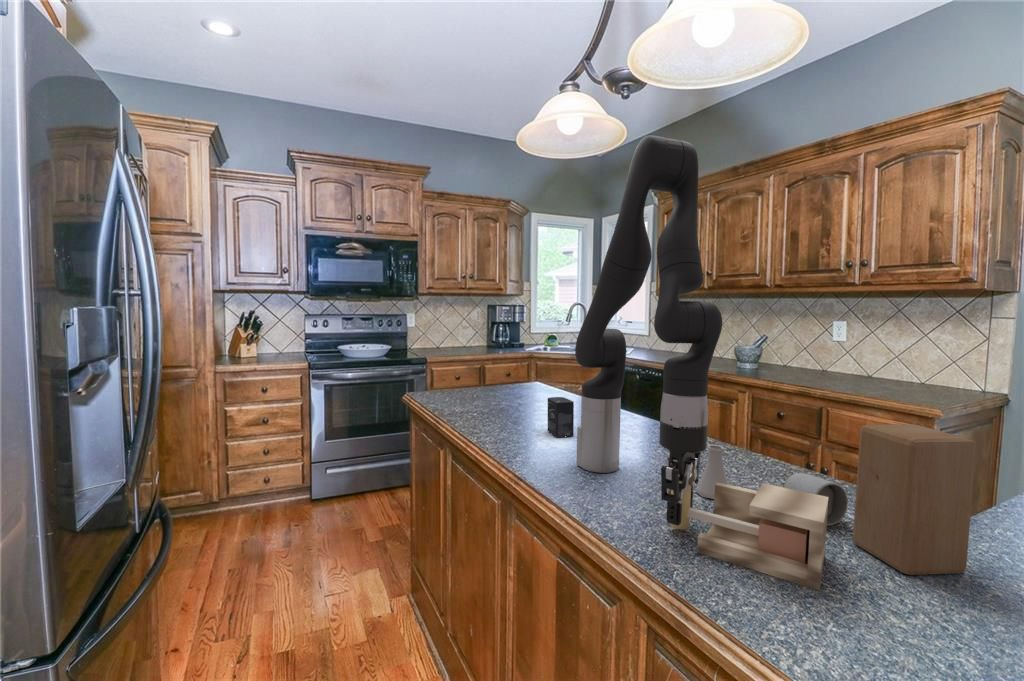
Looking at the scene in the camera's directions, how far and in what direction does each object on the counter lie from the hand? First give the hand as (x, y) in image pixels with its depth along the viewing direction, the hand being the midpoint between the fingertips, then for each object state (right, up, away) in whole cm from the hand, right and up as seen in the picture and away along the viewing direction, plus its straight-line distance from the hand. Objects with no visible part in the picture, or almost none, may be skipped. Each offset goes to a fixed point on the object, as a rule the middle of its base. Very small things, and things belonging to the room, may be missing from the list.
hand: (679, 516), depth 80 cm
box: (-14, +2, +61) cm, 63 cm away
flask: (+13, -2, +17) cm, 21 cm away
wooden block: (+32, -4, -8) cm, 33 cm away
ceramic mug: (+26, -3, +6) cm, 27 cm away
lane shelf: (+10, -3, -7) cm, 13 cm away
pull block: (+7, -2, -5) cm, 9 cm away
